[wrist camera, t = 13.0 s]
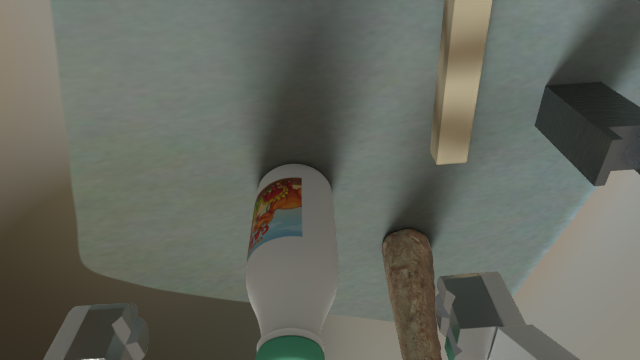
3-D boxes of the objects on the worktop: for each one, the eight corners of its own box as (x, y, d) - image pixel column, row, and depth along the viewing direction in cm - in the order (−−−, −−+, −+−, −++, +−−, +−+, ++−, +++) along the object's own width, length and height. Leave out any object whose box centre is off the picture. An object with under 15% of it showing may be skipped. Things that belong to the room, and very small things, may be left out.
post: (545, 85, 37) (612, 140, 29) (601, 82, 37) (683, 135, 29) (534, 125, 39) (594, 186, 31) (587, 122, 39) (659, 181, 31)
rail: (455, -126, 28) (468, -128, 26) (496, -130, 28) (513, -131, 26) (429, 149, 41) (436, 164, 39) (457, 147, 41) (466, 162, 39)
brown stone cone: (401, 215, 46) (368, 248, 49) (414, 358, 31) (365, 393, 34) (444, 242, 48) (410, 272, 51) (477, 392, 32) (425, 422, 35)
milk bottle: (331, 159, 41) (350, 339, 24) (332, 219, 45) (348, 405, 29) (253, 162, 41) (220, 345, 24) (261, 221, 45) (237, 410, 29)
